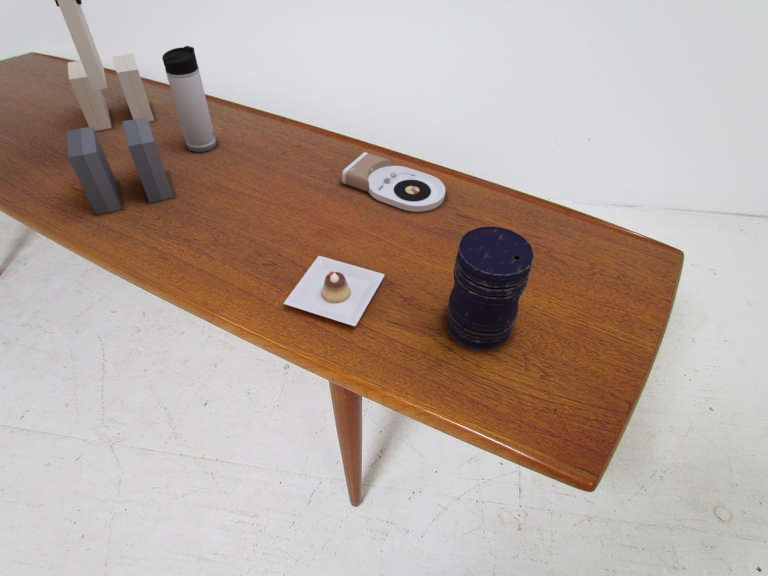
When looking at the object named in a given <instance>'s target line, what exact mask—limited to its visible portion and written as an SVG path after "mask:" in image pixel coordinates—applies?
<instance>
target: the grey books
mask: <svg viewBox="0 0 768 576" xmlns="http://www.w3.org/2000/svg"><path fill="white" fill-rule="evenodd" d="M122 126H123V131H124V135H125V139H126V144H127V147H128V151H129V153H130V156H131V157H132V161H133V163H134V166H135V168H136V171H137V174H138V176H139V179H140V182H141V184H142V187H143V189H144V192H145V195H146V199H147V200H148V203H149V204H151V203H156V202H161V201H165V200H169V199H173V198H174V196H173V191H172V188H171V184H170V182H169V179H168V175H167V172H166V169H165V166H164V163H163V160H162V157H161V154H160V151H159V148H158V145H157V142H156V140H155V136H154V132H153V130H152V128H151V124H150V122H149V121H148V118H147V117H145V118H139V119H133V118H132V119H128V120H127V119H126V120H122ZM66 140H67V141H66V144H67V157H68V160H69V162H70V164H71V167H72V168H73V170H74V173H75V175H76V176H77V179H78V181H79V183H80V185H81V187H82V189H83V191H84V194H85V195H86V197H87V200H88V202H89V204H90V206H91V207H92V210H93V212H94V214H95V216H98V215H103V214H107V213H112V212H117V211H120V210H122V206H121V205H122V204H121V200H120V199H121V198H120V193H119V188H118V182H117V179H116V177H115V175H114V173H113V171H112V168H111V165H110V163H109V161H108V158H107V156H106V153H105V151H104V148H103V146H102V144H101V142H100V139H99V137H98V134H97V131H95V130H94V127H93V126H92V127H89V126H87V127H81V128H76V129H75V128H74V129H70V130H66Z"/></svg>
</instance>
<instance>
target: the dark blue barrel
mask: <svg viewBox="0 0 768 576" xmlns="http://www.w3.org/2000/svg"><path fill="white" fill-rule="evenodd" d="M534 258H535V252H534V248H533V247H532V245H531V244H530V241H528V240H527V239H526V238H525V237H524V236H523V235H521V234H519V233H518V232H515V231H513V230H511V229H509V228H505V227H500V226H492V225H490V226H489V225H488V226H487V225H486V226H479V227H475V228H473V229H470V230H468V231H467V232H466V233H464V234H463V235H462V236H461V238H460V240H459V242H458V248H457V254H456V257H455V262H454V268H453V272H452V273H453V281H454V283H453V288H452V289H451V291H450V294H449V295H448V303H447V309H446V310H447V314H446V321H445V323H446V328H447V331H448V333H449V335H450V336H451V338H452V339H453V340H455V342H457V344H459V345H462V346H463V347H465V348H468V349H471V350H475V351H491V350H495V349H498V348H500V347H501V346H503V345H504V344H505V343H506V342H507V341H508V340H509V338H510V335H511V331H512V329H513V327H514V325H515V323H516V319H517V317H518V314H519V301H520V299H521V296H522V295H523V294H524V292H525V290H526V288H527V284H528V281H529V277H530V275H531V274H530V273H531V269H532V268H531V267H532V266H533V262H534Z"/></svg>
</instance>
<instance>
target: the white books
mask: <svg viewBox="0 0 768 576" xmlns="http://www.w3.org/2000/svg"><path fill="white" fill-rule="evenodd" d="M112 59H113V64H114V69H115V73H116V75H117V78H118V81H119V84H120V87H121V89H122V92H123V95H124V97H125V98H124V99H125V101H126V103H127V106H128V109H129V112H130V115H131V117H132V120H133V119H139V118H145V117H147V118H148V121H149V123H150V122H154V121H155V117H154V115H153V112H152V109H151V106H150V103H149V99H148V95H147V93H146V90H145V87H144V84H143V81H142V78H141V74H140V72H139V68H138V66H137V63H136V59H135V56H134V53H127V54H120V55H112ZM67 73H68V81H69V84H70V86H71V88H72V90H73V93H74V95H75V97H76V100H77V102H78V104H79V107H80V109H81V111H82V113H83V116H84V119H85V121H86V123H87V127H92V126H93V127H94V130H95V132H98V131H104V130H108V129H109V130H110V129H112V128H113V127H112V123H111V117H110V112H109V108H108V105H107V103H106V100H105V98H104V95H103V93H102V89H101V90H94V91H93V90H92V87H91V85H90V82H89V80H88V77H87V75H86V72H85V70H84V67H83V65H82V62H81V60H75V61H68V62H67Z"/></svg>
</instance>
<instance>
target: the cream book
mask: <svg viewBox="0 0 768 576" xmlns="http://www.w3.org/2000/svg"><path fill="white" fill-rule="evenodd" d="M57 2H58V4H59V9H60V12H61V14H62V16H63V19H64V22H65V24H66V27H67V29H68V31H69V34H70V37H71V39H72V42H73V44H74V46H75V49H76V52H77V54H78V57H79V59H80V60H79V61H81V62H82V65H83V67H84V70H85V72H86V75H87V77H88V80H89V82H90V85H91V87H92V90H93V91H94V90H101V91H102V90H107V89H108V86H107V79H106V73H105V68H104V65H103V62H102V60H101V57H100V54H99V52H98V48H97V46H96V44H95V40H94V38H93V36H92V32H91V30H90V27H89V24H88V21H87V19H86V17H85V14H84V11H83V8H82V6H81V5H82V4H80V5H78V4H77V2H76V0H57Z"/></svg>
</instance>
